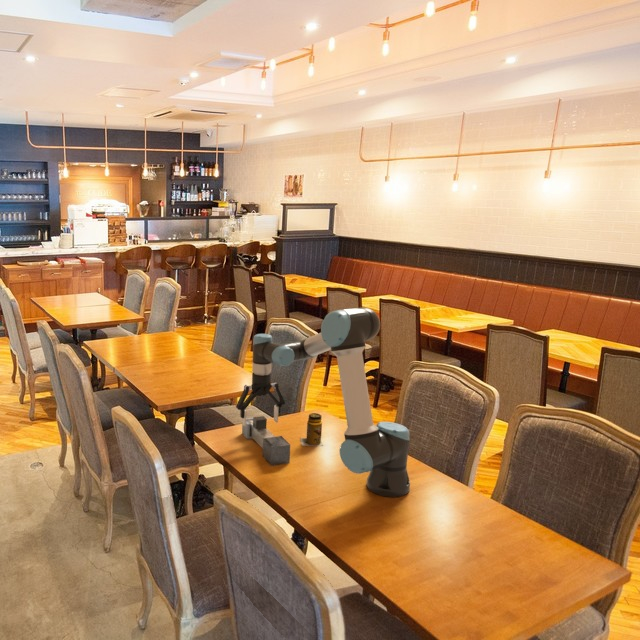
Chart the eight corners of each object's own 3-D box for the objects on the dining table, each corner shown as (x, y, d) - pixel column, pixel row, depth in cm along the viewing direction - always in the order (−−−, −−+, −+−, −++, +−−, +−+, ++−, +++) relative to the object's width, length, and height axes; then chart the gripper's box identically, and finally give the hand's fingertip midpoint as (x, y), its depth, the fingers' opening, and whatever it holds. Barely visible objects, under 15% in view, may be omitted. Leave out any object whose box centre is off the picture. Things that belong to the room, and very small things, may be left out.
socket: (264, 436, 247) (265, 422, 246) (246, 439, 243) (247, 424, 242) (259, 431, 252) (259, 417, 251) (242, 433, 249) (242, 419, 247)
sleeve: (289, 463, 224) (290, 444, 222) (271, 465, 221) (271, 447, 219) (280, 453, 232) (281, 435, 230) (262, 456, 228) (263, 438, 227)
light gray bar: (277, 451, 230) (278, 430, 229) (266, 453, 228) (267, 431, 227) (257, 430, 250) (258, 410, 248) (247, 431, 248) (247, 412, 246)
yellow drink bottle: (322, 446, 241) (324, 418, 239) (302, 446, 240) (303, 418, 238) (320, 438, 248) (322, 411, 246) (300, 438, 247) (301, 411, 245)
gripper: (286, 367, 245) (285, 416, 249) (228, 372, 234) (227, 423, 238) (294, 372, 238) (292, 422, 242) (234, 377, 227) (233, 430, 231)
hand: (260, 423), depth 240 cm, fingers open, 13 cm apart
